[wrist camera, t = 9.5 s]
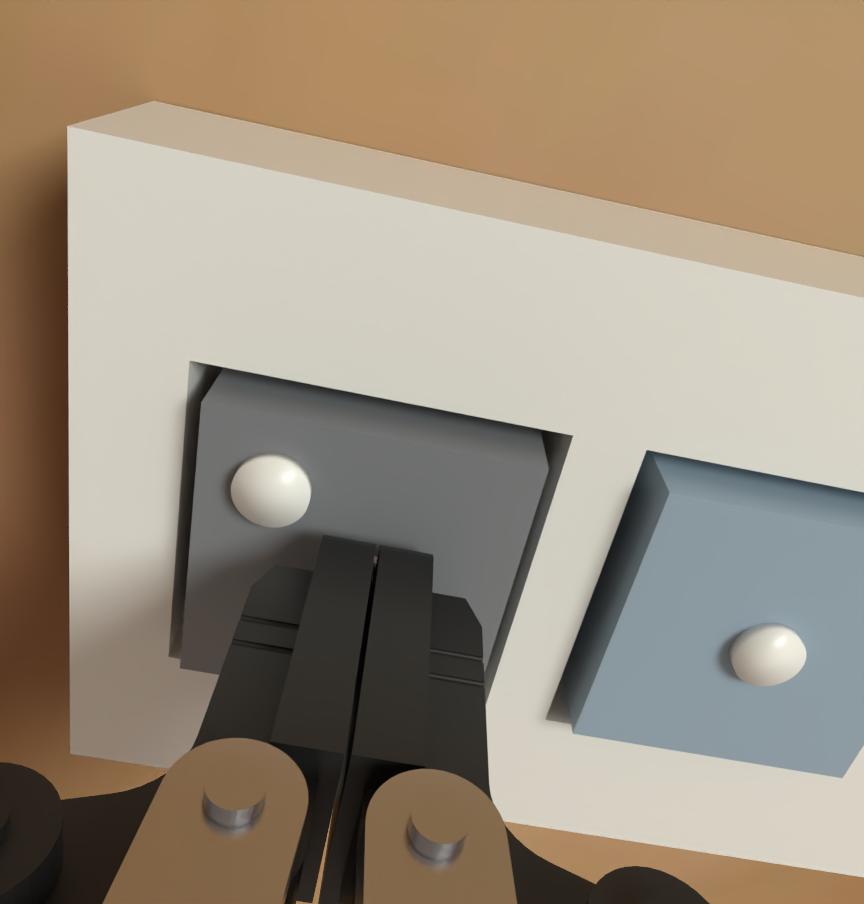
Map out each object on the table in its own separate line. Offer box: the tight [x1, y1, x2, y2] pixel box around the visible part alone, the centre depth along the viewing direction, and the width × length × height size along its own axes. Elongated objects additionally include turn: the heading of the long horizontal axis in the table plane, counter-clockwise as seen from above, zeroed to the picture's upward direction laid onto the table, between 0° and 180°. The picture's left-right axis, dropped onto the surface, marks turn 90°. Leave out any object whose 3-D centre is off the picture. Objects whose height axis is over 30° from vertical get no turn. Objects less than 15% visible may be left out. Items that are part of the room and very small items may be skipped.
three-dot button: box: [180, 367, 549, 675], centre depth 12 cm, size 4×4×3 cm
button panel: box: [67, 101, 864, 877], centre depth 13 cm, size 20×10×3 cm, turn 78°
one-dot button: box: [563, 450, 864, 778], centre depth 13 cm, size 4×4×3 cm
